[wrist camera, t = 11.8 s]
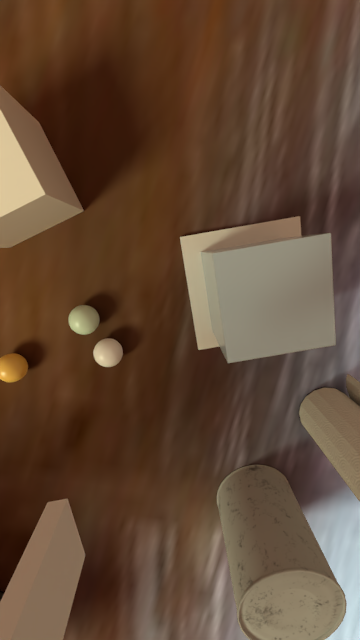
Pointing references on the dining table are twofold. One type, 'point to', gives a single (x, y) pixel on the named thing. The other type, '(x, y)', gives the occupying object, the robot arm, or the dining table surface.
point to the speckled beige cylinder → (276, 560)
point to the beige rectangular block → (29, 177)
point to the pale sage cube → (271, 296)
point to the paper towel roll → (336, 428)
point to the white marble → (108, 352)
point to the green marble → (83, 319)
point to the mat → (219, 240)
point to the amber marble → (12, 367)
